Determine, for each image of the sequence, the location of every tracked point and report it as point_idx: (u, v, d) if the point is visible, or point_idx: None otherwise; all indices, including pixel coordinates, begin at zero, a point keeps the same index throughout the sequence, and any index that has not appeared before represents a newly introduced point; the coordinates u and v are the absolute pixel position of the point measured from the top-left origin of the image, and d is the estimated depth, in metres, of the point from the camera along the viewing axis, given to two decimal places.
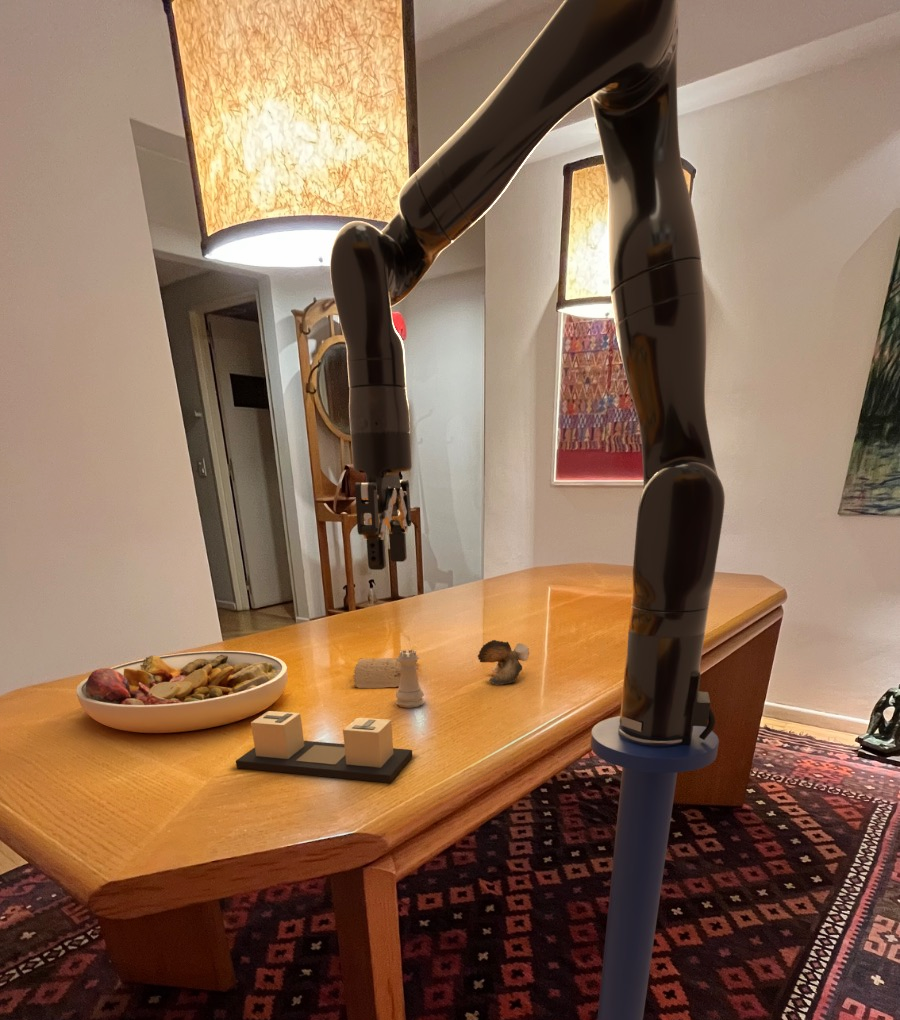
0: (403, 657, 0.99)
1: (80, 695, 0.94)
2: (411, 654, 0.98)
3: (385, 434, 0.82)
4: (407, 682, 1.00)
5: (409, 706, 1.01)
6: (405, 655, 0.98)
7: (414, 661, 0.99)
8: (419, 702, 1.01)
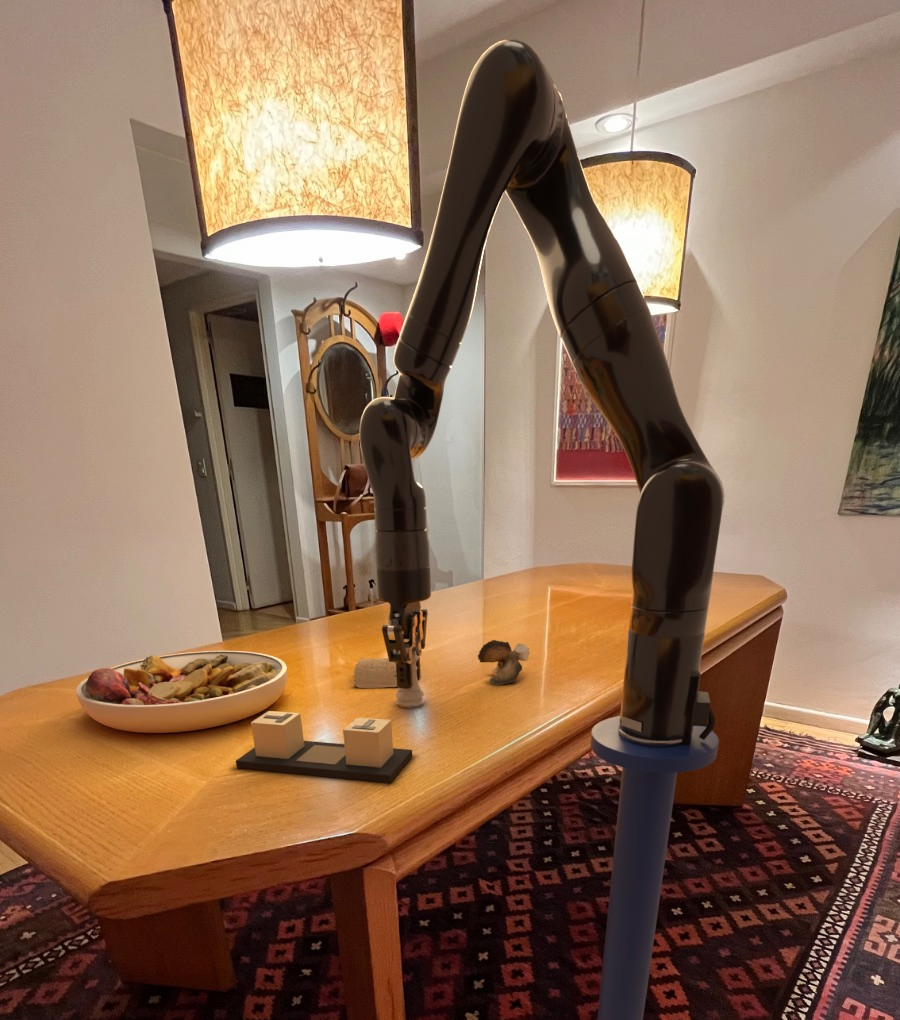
0: None
1: (80, 695, 0.94)
2: None
3: (408, 572, 0.91)
4: None
5: (409, 706, 1.01)
6: None
7: (414, 661, 0.99)
8: (419, 702, 1.01)
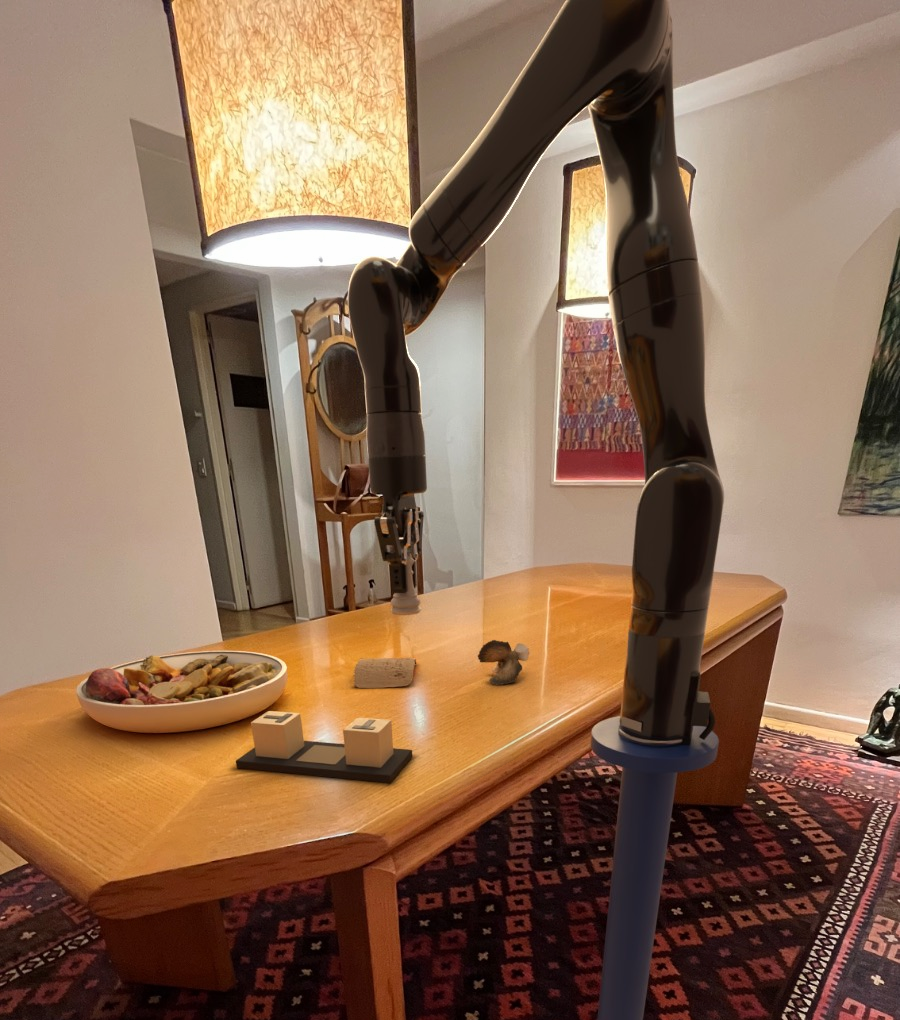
0: None
1: (80, 695, 0.94)
2: None
3: (402, 458, 0.85)
4: None
5: (405, 613, 0.95)
6: None
7: (409, 563, 0.93)
8: (415, 609, 0.95)
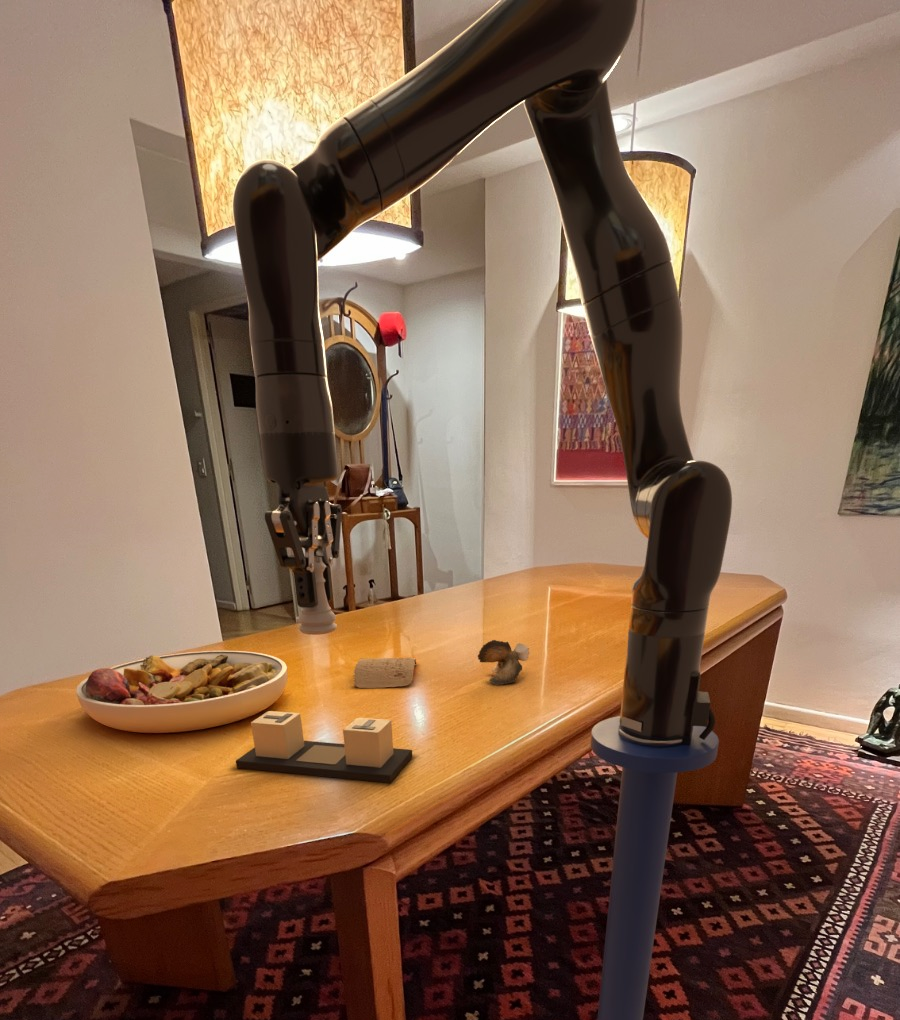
0: None
1: (80, 695, 0.94)
2: (314, 560, 0.73)
3: (299, 434, 0.65)
4: None
5: (315, 632, 0.76)
6: None
7: (319, 570, 0.74)
8: (328, 627, 0.76)
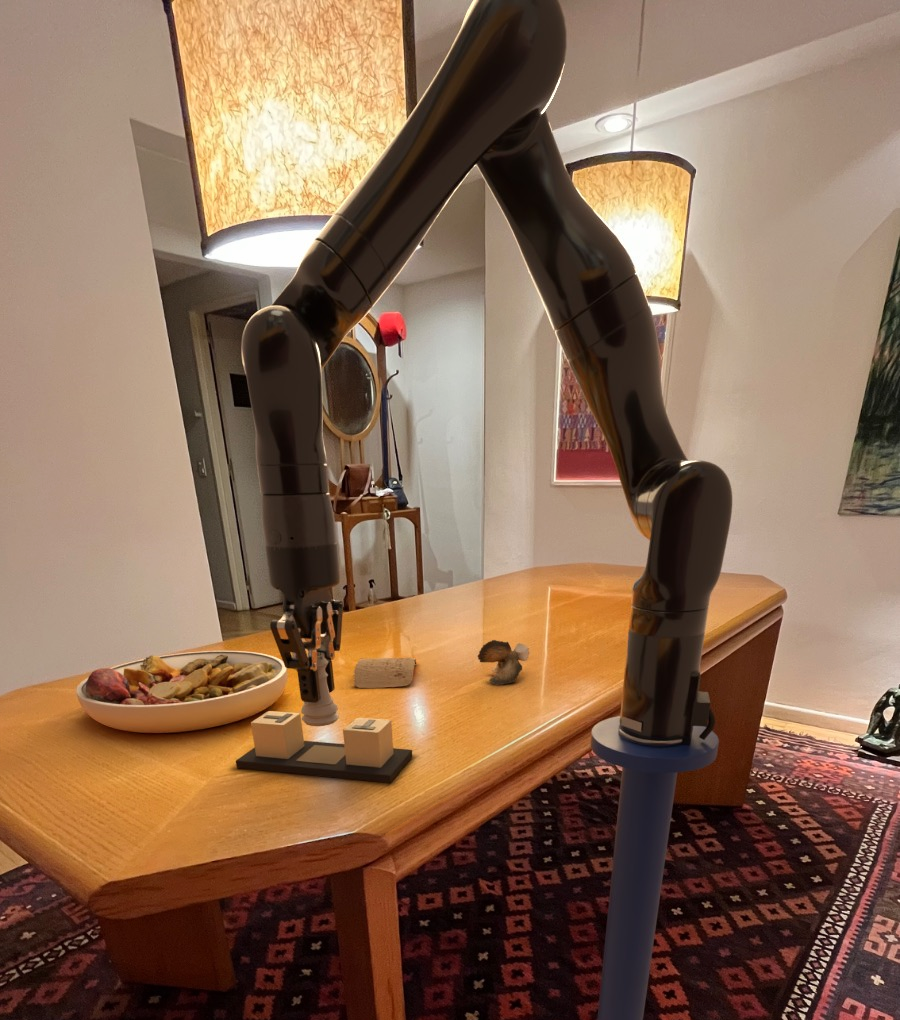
0: None
1: (80, 695, 0.94)
2: (317, 658, 0.76)
3: (303, 549, 0.69)
4: None
5: (317, 724, 0.79)
6: None
7: (321, 667, 0.77)
8: (330, 719, 0.79)
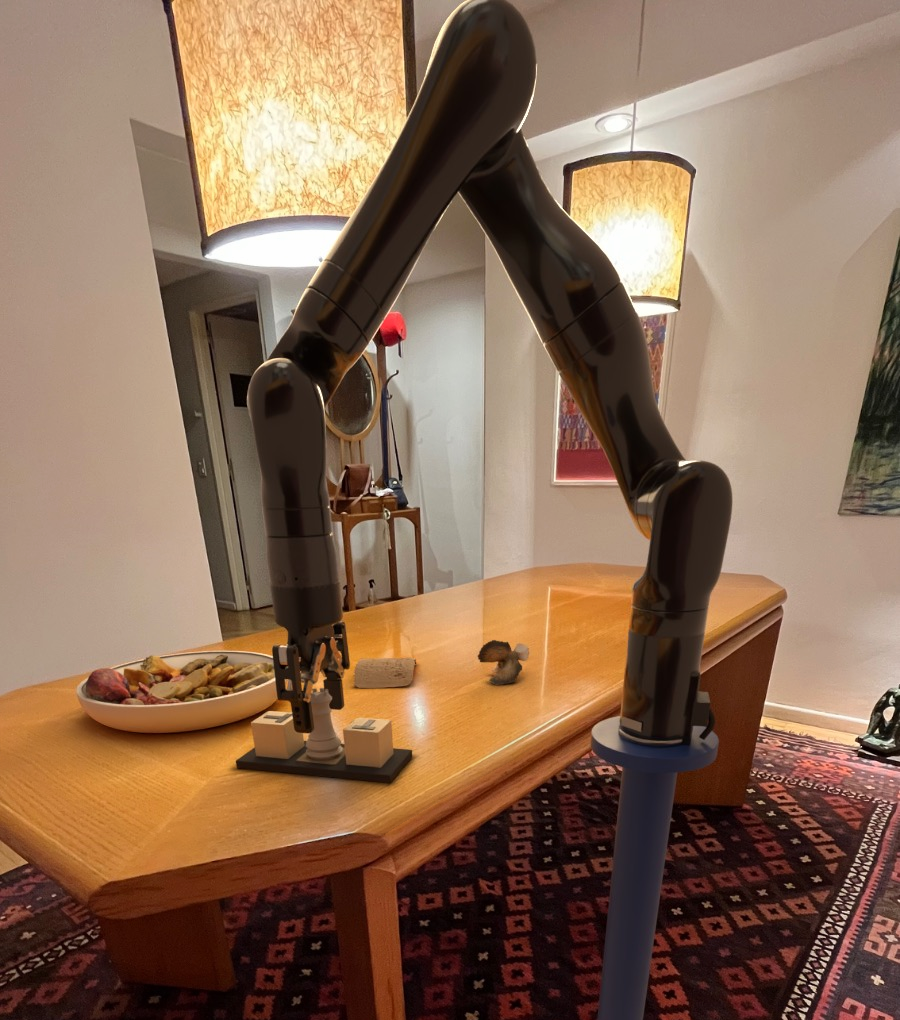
0: (311, 698, 0.78)
1: (80, 695, 0.94)
2: (321, 694, 0.78)
3: (307, 589, 0.70)
4: (318, 728, 0.80)
5: (321, 758, 0.81)
6: (313, 696, 0.78)
7: (325, 703, 0.79)
8: (334, 753, 0.81)
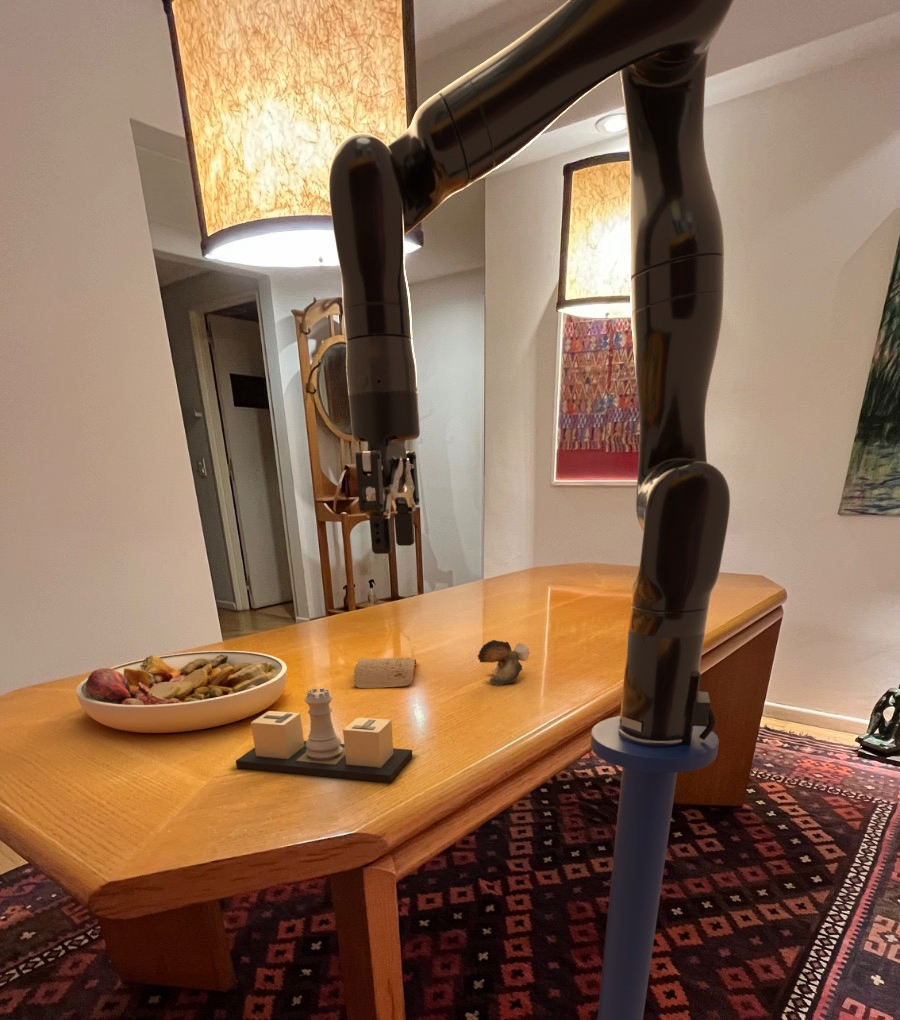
0: (311, 698, 0.78)
1: (80, 695, 0.94)
2: (321, 694, 0.78)
3: (389, 393, 0.70)
4: (318, 728, 0.80)
5: (321, 758, 0.81)
6: (313, 696, 0.78)
7: (325, 703, 0.79)
8: (334, 753, 0.81)
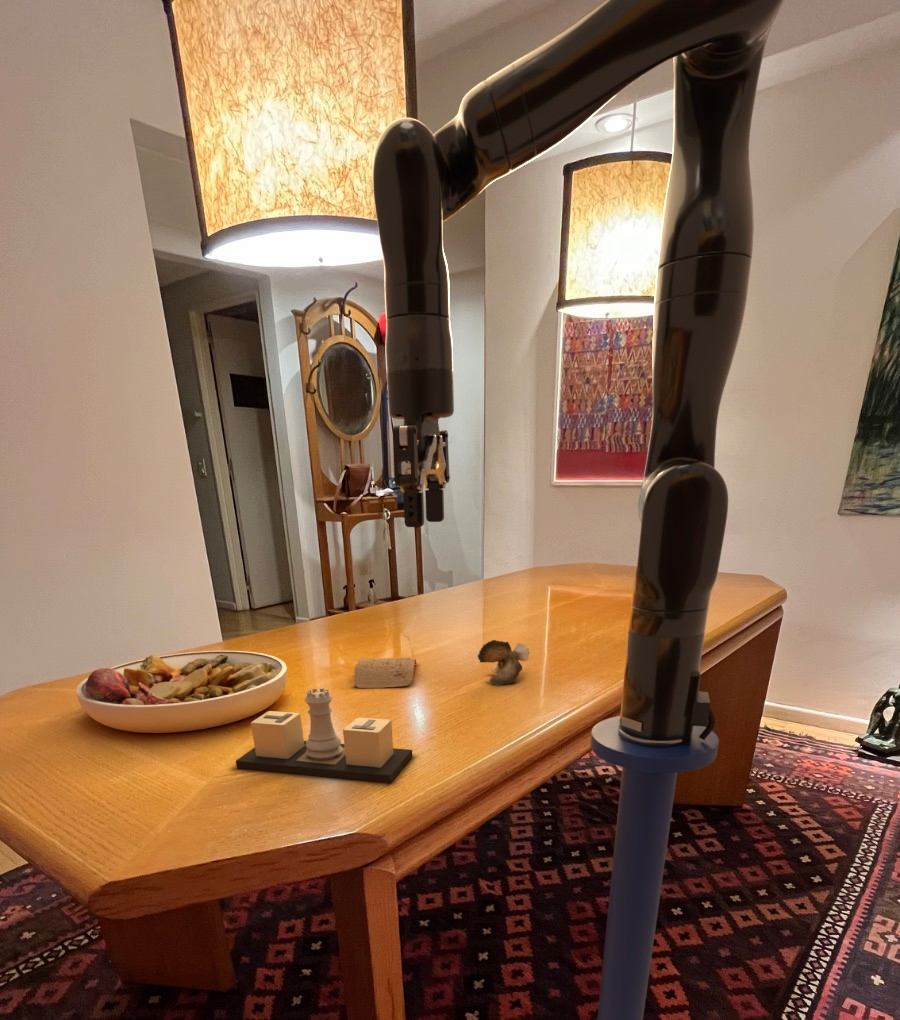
0: (311, 698, 0.78)
1: (80, 695, 0.94)
2: (321, 694, 0.78)
3: (427, 370, 0.73)
4: (318, 728, 0.80)
5: (321, 758, 0.81)
6: (313, 696, 0.78)
7: (325, 703, 0.79)
8: (334, 753, 0.81)
